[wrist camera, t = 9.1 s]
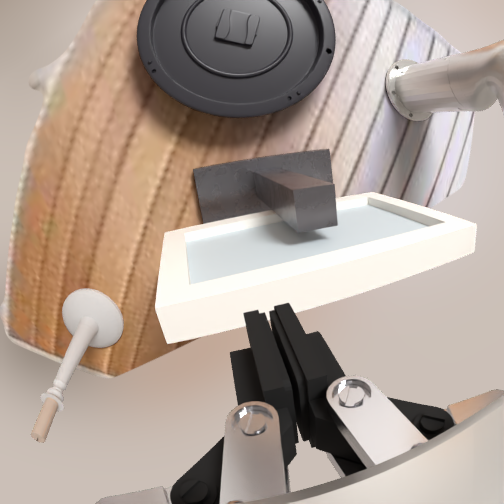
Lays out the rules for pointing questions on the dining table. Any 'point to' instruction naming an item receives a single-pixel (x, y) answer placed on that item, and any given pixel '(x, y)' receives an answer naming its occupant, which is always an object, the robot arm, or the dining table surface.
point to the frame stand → (271, 189)
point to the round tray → (236, 52)
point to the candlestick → (79, 345)
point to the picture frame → (297, 261)
